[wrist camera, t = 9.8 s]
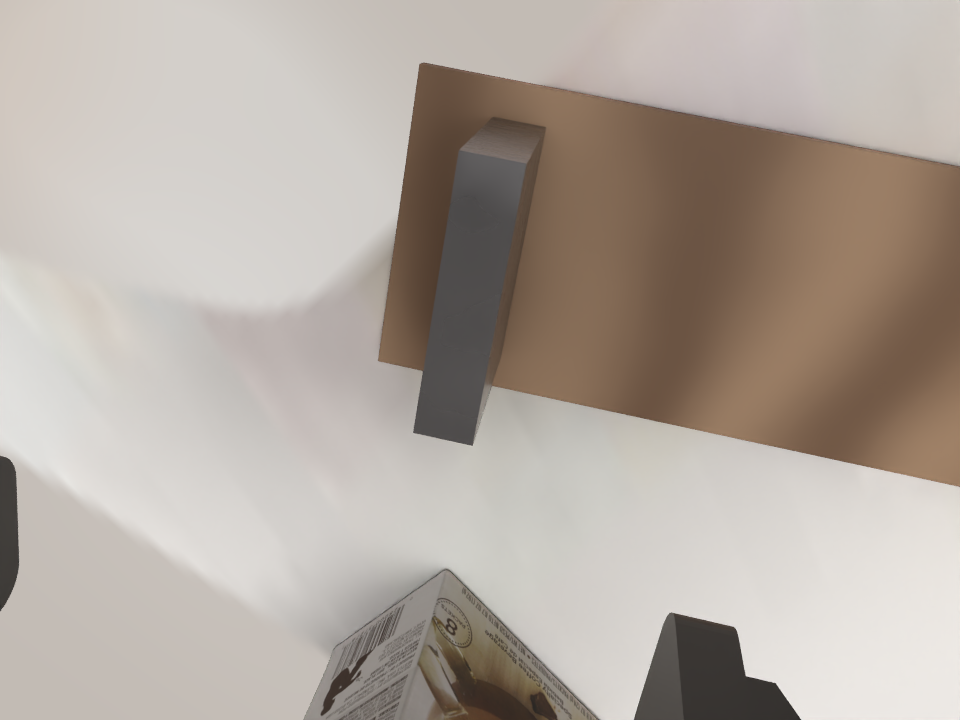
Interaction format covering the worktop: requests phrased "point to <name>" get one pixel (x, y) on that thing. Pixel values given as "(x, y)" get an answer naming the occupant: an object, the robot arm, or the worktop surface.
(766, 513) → the worktop surface
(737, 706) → the robot arm
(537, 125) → the walnut strip
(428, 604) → the coffee box
